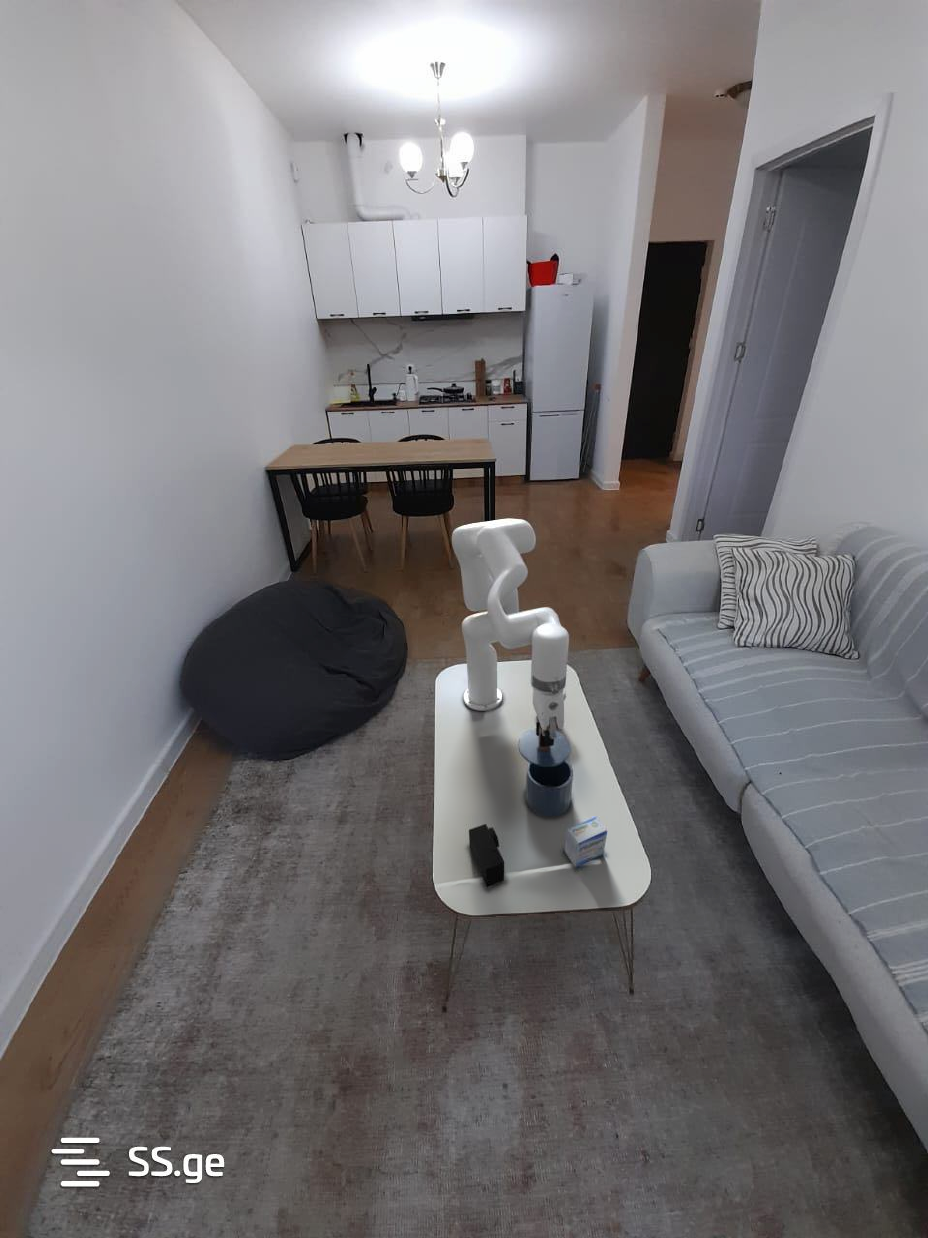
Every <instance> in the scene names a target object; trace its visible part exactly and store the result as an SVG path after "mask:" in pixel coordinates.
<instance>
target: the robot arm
mask: <svg viewBox="0 0 928 1238" xmlns="http://www.w3.org/2000/svg"><path fill="white" fill-rule="evenodd" d="M536 543H537V536H536V533H535V531H534V527H533V526H532V525H531V524H530V522H528V521H527V520H524V519H521V518H502V519H501V518H500V519H495V520H489V521H488V520H487V521H481V522H475V523H469V524H465V525H461V526H458V527H456V528H455V529H454V530H453V532H452V535H451V546H452V549H453V552H454V554H455V557H456V559H457V561H458V563H459V566H460V574H461V584H462V592H463V601H464V605H465V607H466V609H467V610H469V611H471V612H478V613H474V614H471V615H469V616H467V617H465V618H464V619H463V620H462V623H461V632H462V637H463V641H464V647H465V655H466V657H465V658H466V676H467V677H466V678H467V688H466V690H465V691H464V693H463V702H464V704H465V705H466V706H467V707H468V708H470V709H472V710H475V711H480V712H482V711H483V712H484V711H491V710H493V709H496V708H498V707H499V705H501V704H502V701H503V693H502V691H501V689H499V688H498V653H497V651H496V649H495V648H494V647H493V645H492V644H494V643H497V642H498V643H499V644H500V645H501V646H502V647H503V648H505V649H508V650H513V649H519V648H522V647H527V646H531V663H530V664H531V665H530V686H531V687H532V705H533V708H534V712H535V714H536V716H535V717H536V723H535V725H536V726H535V728H536V735H537V736H539V726H540V725H541V727H542V733H540V747H547V746H553V745H554V738H557V736H556V731H557V728H558V729H559V730H562V729H563V728H564V727H565V726H564V725H565V700H564V696H563V689H564V690H565V688H566V685H567V684H566V683H567V672H568V659H569V658H568V657H569V647H570V634H569V632H568V630H567V629H566V628H565V627H563V626H562V624H561V622H560V618H559V615H558V613H556V611H555V610H554V609H553V608H551V607H549V606H543V607H537V608H533V609H526V610H523V611H520V603H519V601H520V600H519V590H518V588H519V587H520V586H521V585H522V584H523V583H524V582H526V579H527V578H528V575H529V570H528V567H527V564H526V563H525V561H524V559H523V557H522V554H527V553H531V552H532V551H533V550H534V549H535V548H536ZM538 721H539V722H538ZM555 722H556V724H557V726H556V724H555ZM546 728H549V730H547V731H546Z"/></svg>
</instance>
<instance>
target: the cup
mask: <svg viewBox="0 0 928 1238" xmlns="http://www.w3.org/2000/svg"><path fill="white" fill-rule="evenodd" d="M527 763H528V764H527V765H526V778H525V779H526V781H525V782H526V783H525V800H526V803H527V805H528V806H529V808H530V809H531V810H532V811H534V812H535V814H539V815H541V816H544V817H557V816H559V815H562V814H564V813H565V812H566V811H567V810H568V809H569V807H570V804H571V799H572V792H573V791H572V788H573V782H574V781H573V780H574V770H573V767H572V764H570V763H569V761H568V759H566V761H564V762H563V763H561V764H560V765H557V766H553V767H540V766H536V765H533V764H531V763H529V762H527ZM541 783H552V784H555V785H557V786H554V787H553V786H545V785H543V784H541Z"/></svg>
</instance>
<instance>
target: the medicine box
mask: <svg viewBox="0 0 928 1238" xmlns="http://www.w3.org/2000/svg"><path fill="white" fill-rule="evenodd" d="M565 834H566V836H565V846H564V853H565V854H566V856H567V857H568V859H569V860H570V861H571V864H572V865H573V866H574V867H575V868H578V867H580V866H582V865H584V864H586V863H587V862H590V861H592V860H593V859H596V858H597V857H601V856H603V855H604V853H605V847H606V842H607V836H608V830H607V829H606V827H605V826H604V825H603V824H602V822H601V821H600V820H599V818H598V817H597V816H594V817H592V818H589V819H587V820H585V821H582V822H580V823H578V824H576V825H573V826H571V827H569V828H567V829H566V833H565Z"/></svg>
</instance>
